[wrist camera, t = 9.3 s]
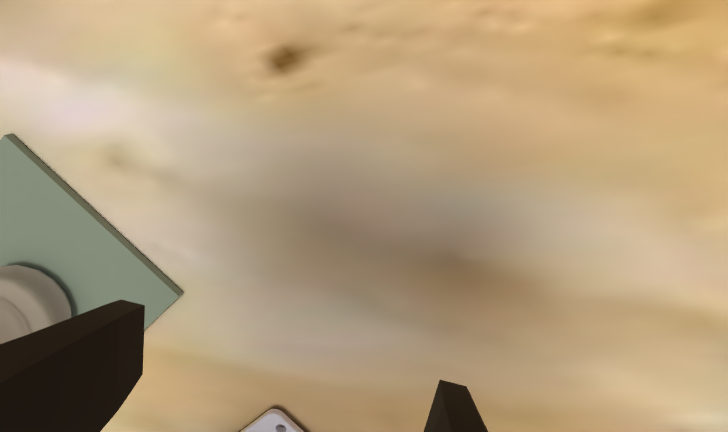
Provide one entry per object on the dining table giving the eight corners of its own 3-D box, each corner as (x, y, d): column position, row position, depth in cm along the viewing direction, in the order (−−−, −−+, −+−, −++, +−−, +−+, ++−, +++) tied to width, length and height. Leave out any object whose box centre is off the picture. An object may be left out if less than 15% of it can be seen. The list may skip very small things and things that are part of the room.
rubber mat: (183, 292, 22) (179, 296, 22) (71, 399, 25) (66, 405, 25) (11, 133, 21) (4, 135, 20) (-84, 268, 24) (-93, 272, 24)
